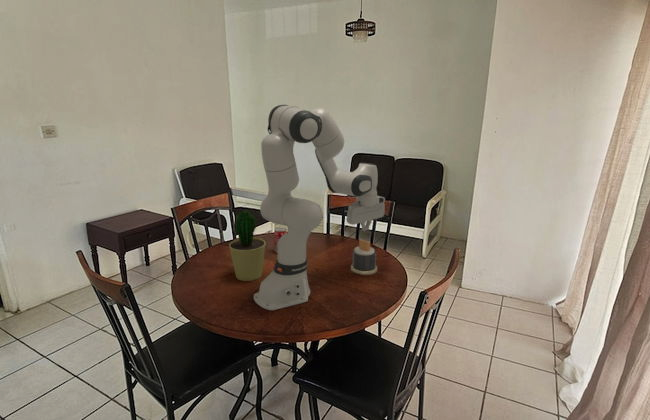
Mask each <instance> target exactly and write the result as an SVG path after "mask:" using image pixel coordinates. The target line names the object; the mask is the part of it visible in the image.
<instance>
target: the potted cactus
mask: <svg viewBox="0 0 650 420" xmlns="http://www.w3.org/2000/svg"><path fill="white" fill-rule="evenodd" d="M252 213H253V212H252ZM252 213H251V212H250V210H241V211H239V212H237V216H236V217H235V219H236V220H234V221H235V222H236V227H235V233H237V237H238V239H235V240H233V241H231V242H229V244H228V246H229V252H230V256H231V260H232V261H231V262H232V265H233V269H234V273H235V277H236V279H237V280H240V281H243V282H251V281H256V280H258V279H260V278H261V277H262V276H263V271H264V261H265V260H264V259H265V251H266V244H267V243H266V241H265V240H264V239H262V238H258V237H255V236H256V234H255V231H256V229H257V227H256V226H257V224H256V218H255V216H254V215H253V214H252Z"/></svg>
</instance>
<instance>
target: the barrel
mask: <svg viewBox="0 0 650 420" xmlns="http://www.w3.org/2000/svg"><path fill="white" fill-rule="evenodd" d="M376 263H377V251H376V250H375V251H374V254H373V255H370V256H361V255H357V254H356V253H355V252H354V250H353V251H352V263H351V265H350V271H351V273H354V274H355V275H361V276H371V275H375V274H376V273H377V272H378V266H377V264H376Z"/></svg>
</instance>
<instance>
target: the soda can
mask: <svg viewBox="0 0 650 420" xmlns="http://www.w3.org/2000/svg"><path fill="white" fill-rule="evenodd" d="M287 233H288V230H287V228H286V227H276V228H275V229H274V231H273V249H274V252H275V253H277V242H278V240H279V239H280V238H281V237H282V236H284V235H286V234H287Z"/></svg>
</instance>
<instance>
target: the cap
mask: <svg viewBox="0 0 650 420" xmlns="http://www.w3.org/2000/svg"><path fill="white" fill-rule="evenodd" d="M358 241H359V242H358V244H359V245H358V246H356V247H355V248H354V250H353V251H354V252H355V253H356V254H357V255H361V256H370V255H373V254H374V251H375V252H376V250H375V248H374V247H372V246H371V241H368V240H365V239H359V240H358Z"/></svg>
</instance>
